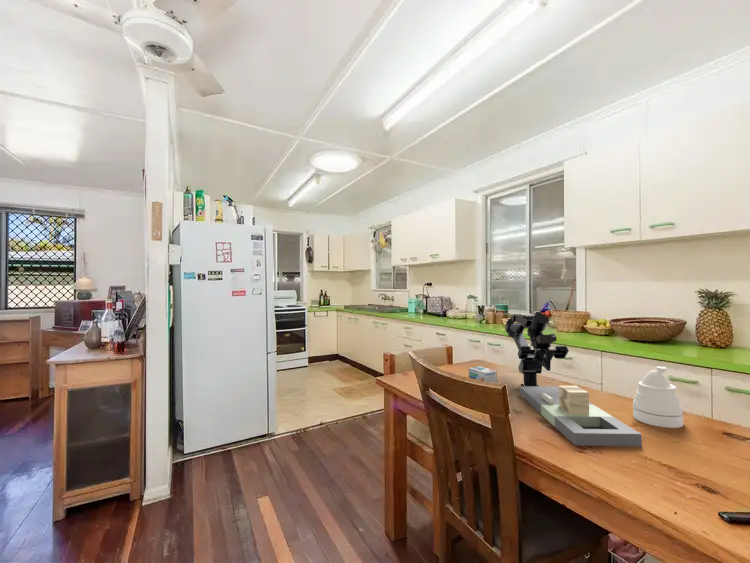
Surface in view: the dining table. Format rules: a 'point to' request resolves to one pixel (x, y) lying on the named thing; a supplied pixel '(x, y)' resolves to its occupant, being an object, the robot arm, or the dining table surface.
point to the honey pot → (657, 401)
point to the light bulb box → (483, 374)
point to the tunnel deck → (580, 420)
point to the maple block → (574, 399)
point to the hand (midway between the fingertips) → (549, 370)
